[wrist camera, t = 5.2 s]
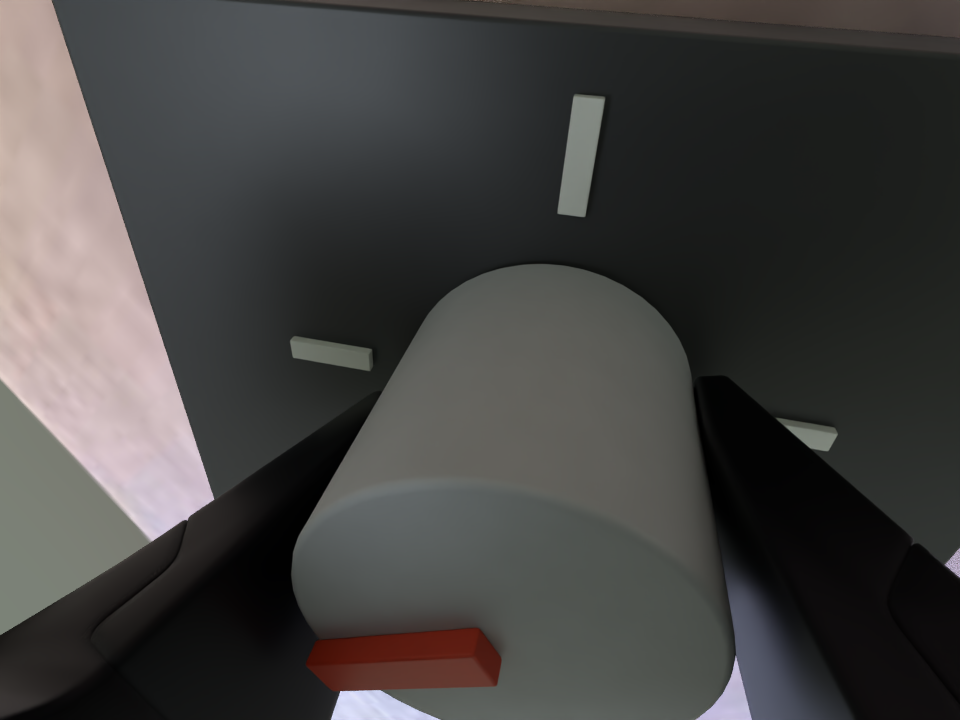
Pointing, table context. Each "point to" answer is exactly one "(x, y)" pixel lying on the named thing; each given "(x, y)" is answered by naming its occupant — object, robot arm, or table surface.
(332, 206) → the control panel
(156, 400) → the table surface
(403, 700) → the browning dial
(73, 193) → the table surface
